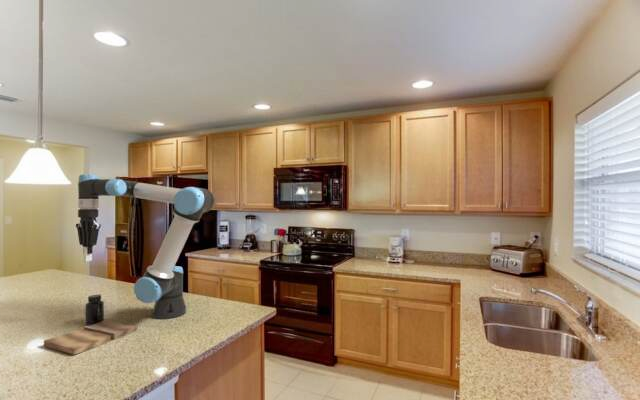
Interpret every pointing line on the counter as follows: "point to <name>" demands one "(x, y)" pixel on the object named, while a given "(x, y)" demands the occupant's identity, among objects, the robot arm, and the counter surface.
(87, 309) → the supplement bottle
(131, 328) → the walnut board
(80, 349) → the oak plank
